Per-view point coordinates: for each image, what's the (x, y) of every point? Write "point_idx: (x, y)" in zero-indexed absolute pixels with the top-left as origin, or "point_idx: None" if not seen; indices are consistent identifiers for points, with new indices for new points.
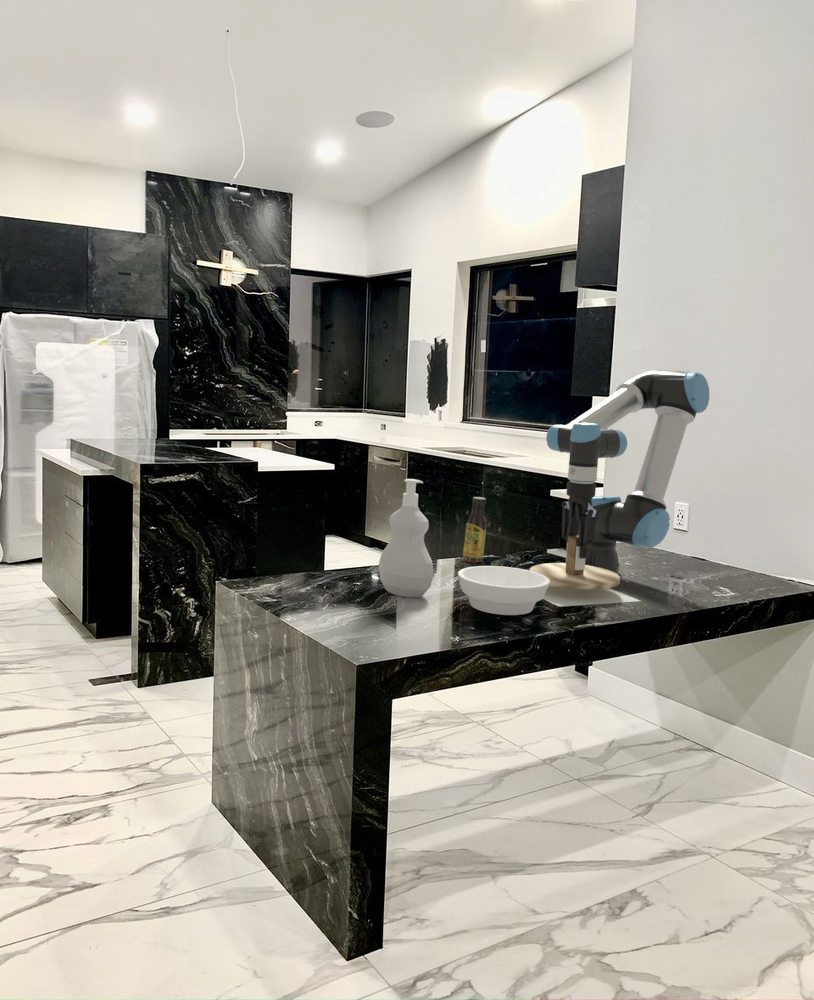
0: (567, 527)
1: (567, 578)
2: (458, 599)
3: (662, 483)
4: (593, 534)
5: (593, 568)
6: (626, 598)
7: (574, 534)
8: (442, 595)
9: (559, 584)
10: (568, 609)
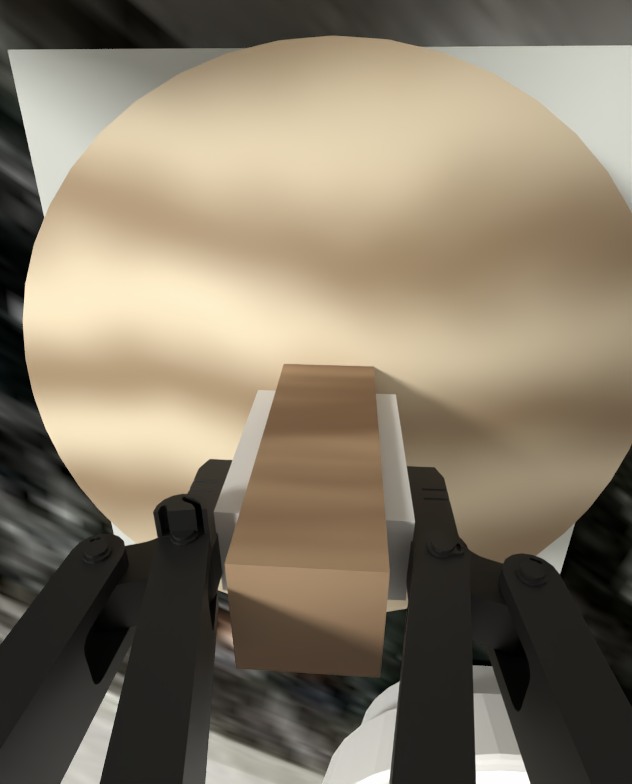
0: (78, 696)
1: None
2: (325, 765)
3: None
4: (617, 695)
5: (222, 154)
6: (608, 124)
7: (205, 608)
8: (271, 777)
9: None
10: (580, 548)
